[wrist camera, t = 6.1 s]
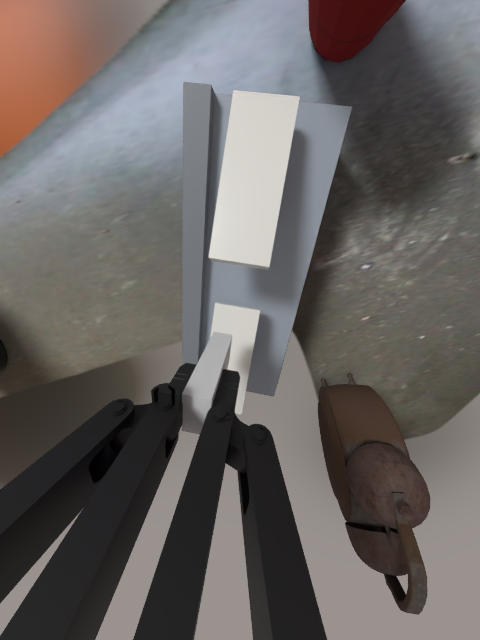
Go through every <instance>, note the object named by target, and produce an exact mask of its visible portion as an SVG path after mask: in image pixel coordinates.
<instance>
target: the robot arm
mask: <svg viewBox="0 0 480 640" xmlns="http://www.w3.org/2000/svg"><path fill="white" fill-rule="evenodd" d="M231 343H232V335H231V334H225V333H219V332H213V334H212V336H211V338H210V340H209V342H208V344H207V346H206V348H205V350H204V352H203V354H202V356H201V358H200V360H199V362H198V363H197V365H196V364H191V363H185V364H183V365H182V366H180V368H179V369H178V371H177V373H176V374H175V376H174V378H173V379H172V380H171V382H170V383H164V384H159V385H158V386H156V387H154V388H153V389H152V390H151V393H152V403H150V404H144V405H134V404H133V402H132V401H131V400H129V399H118V400H115V401H112V402H111V403H109V404H108V405H107V406H105V407H104V408H103V409H101V410H100V411H99V412H98V413H96V414H95V415H94V416H93V417H91V418H90V419H89V420H87V421H86V422H85V423H84V424H82V425H81V426H80V427H79V428H77V429H76V430H75V431H74V432H72V433H71V434H70V435H69V436H67V437H66V438H65V439H64V440H62V441H61V442H60V443H59V444H57V445H56V446H55V447H53V448H52V449H51V450H50V451H48V452H47V453H46V454H45V455H43V456H42V457H41V458H40V459H38V460H37V461H36V462H35V463H33V464H32V465H31V466H30V467H29V468H27V469H26V470H24V471H23V472H22V473H21V474H19V475H18V476H17V477H16V478H14V479H13V480H12V481H11V482H9V483H8V484H7V485H6V486H4V487H3V488H2V489H0V603H1V602H2V601H3V600H4V598H5V597H6V596H7V595H8V594H9V593H10V591H11V590H12V589H13V588H14V587H15V586H16V585H17V583H18V582H19V581H20V580H21V579H22V577H24V575H25V574H26V573H27V572H28V571H29V570H30V569H31V567H32V566H33V565H34V564H35V563H36V562H37V561H38V559H39V558H40V557H41V556H42V555H43V554H44V552H45V551H46V550H47V549H48V548H49V547H50V545H51V544H52V543H53V542H54V541H55V540H56V539H57V538H58V536H59V535H60V534H61V533H62V532H63V531H64V530H65V528H66V527H67V526H68V525H69V524H70V523H71V522H72V520H73V519H74V518H75V517H76V516H77V515H78V513H79V512H80V511H81V510H82V509H83V510H82V511H81V513H80V514H79V516H78V518H77V519H76V520H75V522H74V524H73V525H72V527H71V528H70V530H69V531H68V533H67V534H66V536H65V538H64V539H63V541H62V542H61V544H60V545H59V547H58V548H57V550H56V551H55V553H54V554H53V556H52V557H51V559H50V560H49V562H48V564H47V565H46V567H45V568H44V570H43V571H42V573H41V574H40V576H39V577H38V579H37V580H36V582H35V583H34V585H33V587H32V588H31V590H30V591H29V593H28V594H27V596H26V597H25V599H24V600H23V602H22V604H21V605H20V607H19V608H18V610H17V611H16V613H15V614H14V616H13V617H12V619H11V620H10V622H9V623H8V625H7V627H6V628H5V630H4V631H3V633H2V634H1V636H0V640H95V639H96V636H97V634H98V631H99V629H100V626H101V624H102V622H103V619H104V617H105V615H106V612H107V610H108V607H109V605H110V602H111V600H112V597H113V595H114V593H115V590H116V588H117V586H118V583H119V581H120V578H121V576H122V574H123V571H124V569H125V566H126V564H127V562H128V559H129V556H130V554H131V552H132V549H133V547H134V545H135V542H136V540H137V537H138V535H139V533H140V530H141V528H142V525H143V523H144V520H145V518H146V516H147V513H148V511H149V509H150V506H151V504H152V501H153V499H154V497H155V494H156V492H157V489H158V487H159V484H160V482H161V479H162V477H163V475H164V472H165V470H166V468H167V465H168V463H169V460H170V458H171V456H172V453H173V451H174V448H175V446H176V444H177V441H178V432H179V430H180V428H181V426H182V431H186V432H191V433H196V434H200V437H199V439H198V442H197V445H196V449H195V452H194V455H193V458H192V461H191V464H190V467H189V470H188V473H187V476H186V479H185V482H184V486H183V488H182V491H181V495H180V498H179V501H178V504H177V507H176V510H175V513H174V516H173V519H172V522H171V525H170V528H169V531H168V534H167V537H166V541H165V544H164V547H163V550H162V553H161V556H160V559H159V562H158V565H157V568H156V571H155V574H154V577H153V581H152V583H151V587H150V590H149V593H148V596H147V599H146V602H145V605H144V608H143V611H142V614H141V617H140V620H139V623H138V627H137V630H136V633H135V636H134V639H133V640H194V636H195V630H196V624H197V619H198V613H199V608H200V602H201V597H202V591H203V585H204V580H205V574H206V569H207V563H208V557H209V552H210V546H211V540H212V535H213V530H214V524H215V519H216V513H217V508H218V502H219V496H220V490H221V485H222V480H223V474H224V468H225V463H226V464H228V465H230V466H231V467H233V468H234V469H236V470H237V471H238V481H239V492H240V503H241V513H242V523H243V534H244V545H245V556H246V566H247V578H248V589H249V599H250V610H251V621H252V630H253V640H327V638H326V634H325V631H324V627H323V623H322V619H321V615H320V612H319V608H318V605H317V601H316V597H315V593H314V590H313V586H312V582H311V578H310V575H309V571H308V567H307V563H306V560H305V556H304V552H303V549H302V545H301V541H300V537H299V534H298V530H297V526H296V523H295V519H294V515H293V512H292V508H291V504H290V500H289V496H288V493H287V489H286V486H285V482H284V478H283V474H282V470H281V467H280V463H279V460H278V456H277V452H276V448H275V445H274V441H273V437H272V435H271V433H270V431H269V430H268V429H267V428H266V427H265V426H263V425H260V424H253V425H250V426H248V425H246V424H244V423H242V422H241V421H240V420H239V419H238V418H237V416H236V415H235V406H236V400H237V395H238V388H239V382H240V375H239V373H238V372H237V371H232V370H227V368H228V365H229V359H230V351H231ZM6 362H7V357H6V353H5V350H4V347H3V345H2V344H1V342H0V371H1V370H2V369H4V367H5V366H6Z"/></svg>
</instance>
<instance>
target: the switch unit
mask: <svg viewBox="0 0 480 640" xmlns="http://www.w3.org/2000/svg"><path fill="white" fill-rule="evenodd" d="M232 96H233V95H228V94H218V93H214V90H213V88H212V86H211V85H210V84H199V83H189V82H184V86H183V265H182V365H183V364H185V363H191V364H196V365H197V363H198V362H199V360H200V358H201V356H202V354H203V352H204V350H205V348H206V346H207V344H208V342H209V340H210V335H211V328H212V321H213V314H214V307H215V303H216V302H220V303H226V304H232V305H238V306H243V307H249V308H255V309H260V315H259V320H258V326H257V331H256V337H255V342H254V348H253V354H252V359H251V365H250V370H249V376H248V381H247V387H246V391H249V392H254V393H259V394H264V395H269V396H274V394H275V390H276V386H277V383H278V379H279V376H280V372H281V369H282V364H283V360H284V357H285V353H286V349H287V346H288V342H289V338H290V334H291V332H292V328H293V324H294V321H295V317H296V313H297V310H298V305H299V301H300V298H301V294H302V290H303V287H304V283H305V279H306V275H307V272H308V269H309V266H310V262H311V258H312V255H313V251H314V247H315V243H316V239H317V235H318V231H319V227H320V224H321V220H322V216H323V213H324V209H325V205H326V202H327V198H328V194H329V191H330V187H331V183H332V179H333V177H334V173H335V170H336V166H337V162H338V159H339V155H340V151H341V148H342V144H343V140H344V137H345V131H346V128H347V124H348V120H349V117H350V113H351V109H352V107H351V106H341V105H331V104H320V103H310V102H300V101H299V104H298V110H297V115H296V121H295V127H294V132H293V138H292V143H291V149H290V155H289V160H288V166H287V171H286V177H285V183H284V188H283V194H282V199H281V205H280V210H279V216H278V222H277V227H276V233H275V238H274V244H273V250H272V255H271V261H270V266H269V270H266V269H260V268H253V267H247V266H240V265H234V264H228V263H221V262H215V261H211V260H210V259H209V258H208V257H209V250H210V243H211V237H212V230H213V223H214V216H215V210H216V203H217V196H218V190H219V183H220V176H221V170H222V163H223V156H224V150H225V143H226V136H227V130H228V123H229V116H230V110H231V103H232Z"/></svg>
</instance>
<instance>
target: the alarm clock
mask: <svg viewBox="0 0 480 640" xmlns="http://www.w3.org/2000/svg"><path fill="white" fill-rule="evenodd" d="M347 376H348V377H349V384H350V385H348V384H342V385H333V386H327V385H326V383H325V379H323V378H322V379H321V382H322V384H323V387H321V388H320V391H319V403H318V418H319V427H320V434H321V441H322V447H323V452H324V457H325V462H326V466H327V471H328V475H329V479H330V482H331V485H332V489H333V492H334V494H335V496H336V498H337V500H338V503H339V506H340V509H341V511H342V514H343V516H344V518H345V520H346V521H347V522H346V523H345V524H346V529H347V532H348V535H349V538H350V541H351V543H352V546H353V548H354V550H355V552H356V553H357V555H358V556H359V557H360V559H361V560H362V561H363V562H364V563H365V564H367V565H368V566H369V567H371V568H372V569H374V570H376V571H378V572H380V573H383V574H384V576H385V579H386V583H387V585H388V587H389V589H390V590H391V592H392V595H393V597H394V599H395V601H396V603H397V605H398V607H399V608H400V610H401V611H404V612H406V613H413V614H420V612H422V610H423V607H424V605H425V602H426V598H427V576H426V571H425V567H424V563H423V560H422V557H421V554H420V551H419V548H418V545H417V542H416V539H415V536H414V533H413V530H412V528H414V527H416V526H418V525H420V524H421V523H422V522H423V521H424V520H425V519H426V517H427V515H428V512H429V509H430V495H429V492H428V488H427V485H426V482H425V481H424V479H423V477H422V475H421V474H420V472H419V470H418V469H417V468H416V466H415V464H414V463H413V462H412V461H411V460H410V457H409V453H408V450H407V447H406V444H405V442H404V439H403V436H402V434H401V432H400V429H399V427H398V425H397V423H396V421H395V419H394V417H393V415H392V413H391V412H390V410H389V408H388V407H387V405H386V404H385V403H384V401H383V400H382V399H381V398H380V396H379V395H378V394H377V393H376V392H375V391H374V390H373V389H372V388H371V387H369V386H365V385H355V383H354V381H353V379H352V374H350V373H349V374H348V375H347ZM406 574H408V590H407V594H405V592H404V590H403V588H402V586H401V584H400V582H399V580H398V579H397V577H396V576H402V575H406Z"/></svg>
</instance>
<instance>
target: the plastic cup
mask: <svg viewBox="0 0 480 640" xmlns="http://www.w3.org/2000/svg"><path fill="white" fill-rule="evenodd" d="M405 1H406V0H309V30H310V35H311V38H312V41H313V43H314V46H315V49H316V51H317V52H318V53H319V54H320V55H321V56H322V57H323V58H324V59H325V60H329V61H334V62H341V61H344V60H347V59H350V58H352V57H354V56H355V55H356V54H357V53H358V52H359V51H361V50H362V49H363V48H364V47H365V46H366V45H368V44H369V43H370V42H371V41H372V39H373V38H374V37H375V36H376V34H377V33H378V32H379V30H380V29H381V28H382V27H383V25H384V24H385V23H386V22H387V21H388V20H389V19H390V18H391V17H392V16H393V15H394V14H395V13H396V11H397V10H398V9H399V8H400V7H401V5H402V4H403V3H404V2H405Z"/></svg>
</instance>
